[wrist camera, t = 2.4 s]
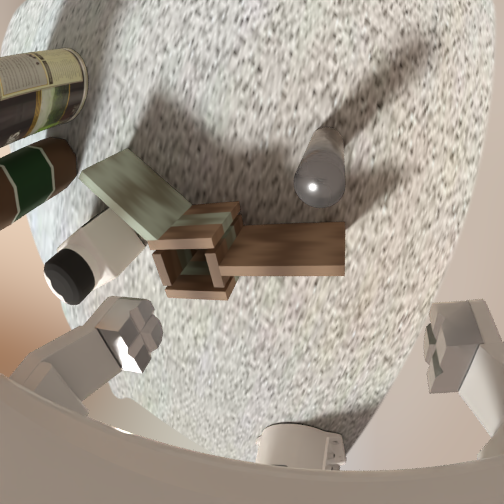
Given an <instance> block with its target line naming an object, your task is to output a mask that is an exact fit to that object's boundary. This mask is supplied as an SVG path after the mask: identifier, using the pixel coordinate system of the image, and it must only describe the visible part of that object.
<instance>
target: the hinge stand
mask: <svg viewBox="0 0 504 504" xmlns="http://www.w3.org/2000/svg"><path fill="white" fill-rule="evenodd" d="M79 179H80V180H81V181H82V182H83V183H84V184H85V185H86V186H87V187H88V188H89V189H90V190H91V191H92V192H93V193H94V194H96V195H97V196H98V197H99V198H100V199H101V200H102V201H103V202H104V203H105V204H106V205H107V206H108V207H109V208H111V209H112V210H113V211H114V212H115V213H116V214H117V215H118V216H119V217H120V218H121V219H123V220H124V221H125V222H126V223H127V224H128V225H129V226H130V227H131V228H133V229H134V230H135V231H136V232H137V233H138V234H139V235H140V236H142V237H143V238H144V239H145V240H146V241H147V242H148V245H149V247H150V250H156V251H155V252H154V253H153V254H152V256H153V259H154V262H155V264H156V267H157V270H158V273H159V276H160V278H161V281H162V284H163V286H167V287H166V289H165V292H166V294H167V297H169V298H186V299H206V300H228V299H229V297H230V295H231V293H232V291H233V289H234V287H235V285H236V283H237V281H238V278H239V276H345V222H321V223H290V224H264V225H243V220H242V215H241V214H239V215H237V214H238V213H239V212H240V210H241V209H240V204H239V201H236V202H222V203H210V204H198V205H192V204H191V203H190V202H189V201H187V200H186V199H185V198H184V197H183V196H182V195H181V194H179V193H178V192H177V191H176V190H175V189H174V188H173V187H171V186H170V185H169V184H168V183H167V182H166V181H165V180H163V179H162V178H161V177H160V176H159V175H158V174H157V173H155V172H154V171H153V170H152V169H151V168H150V167H149V166H148V165H146V164H145V163H144V162H143V161H142V160H141V159H140V158H138V157H137V156H136V155H135V154H134V153H133V152H132V151H130V150H129V149H128V148H127V149H125V150H123V151H121V152H118V153H116V154H114V155H112V156H110V157H108V158H106V159H104V160H102V161H100V162H98V163H96V164H94V165H92V166H90V167H88V168H86V169H85V170H83V171H82V172H81V174H80V176H79Z"/></svg>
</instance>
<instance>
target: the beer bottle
mask: <svg viewBox="0 0 504 504" xmlns="http://www.w3.org/2000/svg"><path fill="white" fill-rule="evenodd" d="M76 175H77V173H76V155H75V154H74V152H73V150H72V149H71V147H70V146H69V144H68V143H67V141H66V140H64V139H58V138H52V137H49V138H46V139H43V140H40V141H38V142H35V143H33V144H30V145H28V146H26V147H24V148H21V149H19V150H17V151H15V152H12V153H10V154H8V155H6V156H4V157H2V158H0V230H2V229H4V228H5V227H7V226H9V225H11V224H12V223H13V222H15V221H16V220H18V219H19V218H21V217H22V216H24V215H25V214H27V213H28V212H30V211H31V210H33V209H34V208H36V207H38V206H39V205H41V204H42V203H44V202H45V201H47V200H49V199H50V198H52V197H54V196H55V195H57V194H58V193H60V192H61V191H63V190H64V189H66V188H67V187H68V185H69V184H70V183H71V182H72V181H73V179H74V178H75V177H76Z"/></svg>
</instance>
